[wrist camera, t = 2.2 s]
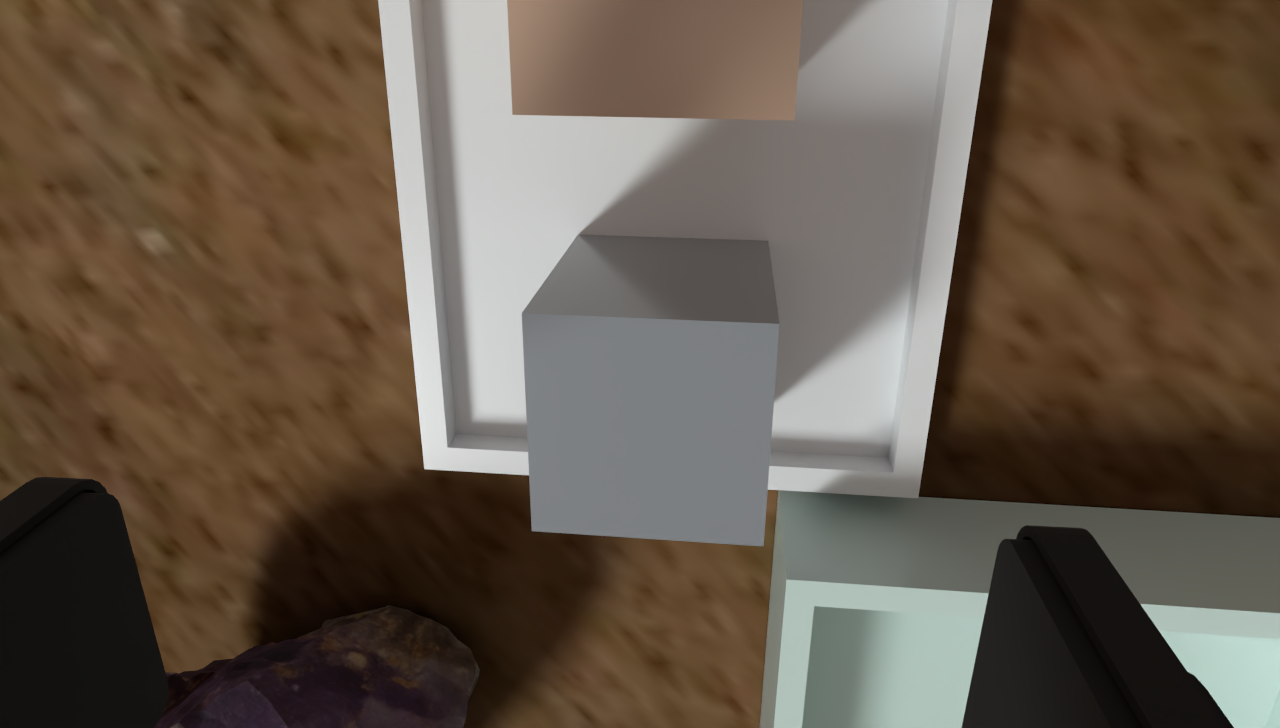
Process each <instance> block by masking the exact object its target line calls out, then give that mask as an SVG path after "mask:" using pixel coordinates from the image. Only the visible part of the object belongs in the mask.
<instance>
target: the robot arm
mask: <svg viewBox="0 0 1280 728" xmlns="http://www.w3.org/2000/svg"><path fill="white" fill-rule="evenodd" d="M168 692H169V688H168V681H167V678H166V674H165V670H164V666H163V663H162V659H161V655H160V651H159V648H158V644H157V640H156V637H155V633H154V629H153V625H152V622H151V618H150V614H149V611H148V607H147V603H146V599H145V596H144V592H143V588H142V585H141V581H140V577H139V573H138V570H137V566H136V562H135V558H134V555H133V551H132V547H131V544H130V540H129V536H128V532H127V529H126V525H125V521H124V518H123V514H122V510H121V507H120V504H119V502H118V500H117V499H116V498H115V497H114V496H113V495H110V494H108V493H107V491H106V489H105V488H104V487H103V486H102V484H101V483H100V482H97V481H95V480H92V479H74V478H53V477H41V478H35V479H33V480H31V481H29V482H27V483H25V484H24V485H23V486H21V487H20V488H18V489H17V490H15V491H14V492H13V493H11V494H10V495H8V496H7V497H6V498H4V499H3V500H1V501H0V728H154V727H155V725H156V724H157V723H158V721H159V720H160V718H161V716H162V715H163V712H164V710H165V707H166V704H167V700H168ZM962 728H1234V727H1233V726H1232V724H1231V723H1230V721H1229V720H1228V719H1227V717H1226V716H1225V714H1224V713H1223V711H1222V710H1221V709H1220V707H1219V706H1218V704H1217V703H1216V702H1215V700H1214V699H1213V697H1212V696H1211V695H1210V693H1209V692H1208V690H1207V689H1206V688H1205V687H1204V685H1203V684H1202V683H1201V682H1200V681H1199V680H1198V679H1197V678H1196V677H1195V676H1194V675H1193V674H1191V673H1189V672H1187V670H1186V669H1185V668H1184V666H1183V665H1182V663H1181V662H1180V660H1179V659H1178V658H1177V656H1176V655H1175V653H1174V652H1173V650H1172V649H1171V647H1170V646H1169V645H1168V643H1167V642H1166V640H1165V639H1164V637H1163V636H1162V635H1161V633H1160V632H1159V630H1158V629H1157V627H1156V626H1155V625H1154V623H1153V622H1152V620H1151V619H1150V617H1149V616H1148V614H1147V613H1146V612H1145V610H1144V609H1143V607H1142V606H1141V604H1140V603H1139V602H1138V600H1137V599H1136V597H1135V596H1134V594H1133V593H1132V592H1131V590H1130V589H1129V587H1128V586H1127V584H1126V583H1125V581H1124V580H1123V579H1122V577H1121V576H1120V574H1119V573H1118V571H1117V570H1116V569H1115V567H1114V566H1113V564H1112V563H1111V561H1110V560H1109V559H1108V557H1107V556H1106V554H1105V553H1104V551H1103V550H1102V548H1101V547H1100V546H1099V544H1098V543H1097V541H1096V540H1095V538H1094V537H1093V536H1092V535H1091V534H1090V532H1089V531H1088V530H1086V529H1083V528H1071V527H1051V526H1031V525H1026V526H1024V527H1022V528H1021V529H1020V531H1019V533H1018V534H1017V537H1016V539H1004V540H1002V541H1001V543H1000V545H999V547H998V551H997V555H996V560H995V565H994V570H993V575H992V580H991V584H990V589H989V594H988V599H987V604H986V609H985V614H984V619H983V624H982V629H981V634H980V639H979V644H978V649H977V654H976V659H975V664H974V669H973V674H972V679H971V683H970V688H969V693H968V698H967V703H966V708H965V713H964V718H963V723H962Z"/></svg>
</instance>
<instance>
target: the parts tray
mask: <svg viewBox="0 0 1280 728" xmlns="http://www.w3.org/2000/svg"><path fill="white" fill-rule="evenodd" d="M378 2H379V13H380V23H381V33H382V43H383V53H384V63H385V74H386V84H387V94H388V104H389V114H390V125H391V135H392V145H393V155H394V165H395V175H396V186H397V196H398V206H399V216H400V226H401V237H402V247H403V257H404V267H405V277H406V287H407V298H408V308H409V318H410V328H411V338H412V348H413V359H414V369H415V379H416V389H417V399H418V410H419V420H420V430H421V440H422V450H423V460H424V469H431V470H447V471H464V472H481V473H498V474H515V475H529V462H528V440H527V418H526V397H525V375H524V354H523V332H522V312H523V311H524V309H525V308H526V306H527V305H528V304H529V302H530V301H531V299H532V298H533V297H534V295H535V294H536V292H537V291H538V290H539V288H540V287H541V285H542V284H543V283H544V281H545V280H546V278H547V277H548V276H549V274H550V273H551V271H552V270H553V269H554V267H555V266H556V264H557V263H558V262H559V260H560V259H561V257H562V256H563V255H564V253H565V252H566V250H567V249H568V248H569V246H570V245H571V243H572V242H573V241H574V239H575V238H576V236H577V235H578V234H579V235H610V236H640V237H671V238H701V239H732V240H763V241H768V242H769V250H770V257H771V264H772V272H773V279H774V286H775V294H776V301H777V308H778V316H779V323H780V326H779V339H778V353H777V367H776V381H775V394H774V408H773V422H772V435H771V449H770V463H769V477H768V490H785V491H802V492H819V493H836V494H853V495H869V496H886V497H903V498H918V496H919V489H920V483H921V476H922V469H923V463H924V456H925V449H926V443H927V436H928V429H929V422H930V416H931V409H932V402H933V396H934V389H935V382H936V375H937V369H938V362H939V355H940V349H941V342H942V335H943V329H944V322H945V315H946V308H947V302H948V295H949V288H950V282H951V275H952V268H953V262H954V255H955V248H956V241H957V235H958V228H959V221H960V215H961V208H962V201H963V194H964V188H965V181H966V174H967V168H968V161H969V154H970V148H971V141H972V134H973V127H974V121H975V114H976V107H977V101H978V94H979V87H980V80H981V74H982V67H983V60H984V54H985V47H986V40H987V34H988V27H989V20H990V13H991V7H992V0H803V10H802V24H801V38H800V51H799V65H798V79H797V93H796V106H795V120H794V121H793V120H743V119H693V118H643V117H592V116H542V115H512V95H511V73H510V52H509V30H508V9H507V0H378Z"/></svg>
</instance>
